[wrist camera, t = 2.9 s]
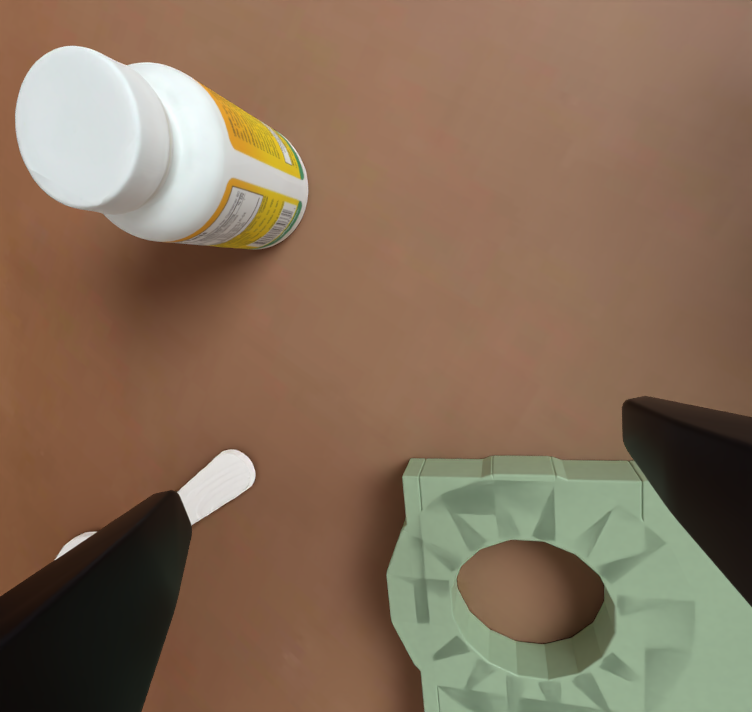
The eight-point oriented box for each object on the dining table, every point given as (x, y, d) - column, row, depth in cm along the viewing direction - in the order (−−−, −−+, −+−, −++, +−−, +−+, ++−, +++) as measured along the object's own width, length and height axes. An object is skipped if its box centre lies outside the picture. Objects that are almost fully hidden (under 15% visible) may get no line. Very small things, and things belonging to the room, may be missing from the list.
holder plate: (826, 457, 17) (867, 480, 15) (804, 769, 20) (837, 823, 18) (385, 454, 22) (374, 472, 20) (411, 706, 24) (403, 744, 22)
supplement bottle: (306, 255, 21) (159, 248, 12) (204, 243, 22) (0, 227, 13) (316, 129, 20) (162, 14, 11) (208, 123, 21) (-14, 14, 12)
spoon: (280, 500, 24) (276, 505, 23) (89, 633, 29) (81, 639, 29) (218, 418, 24) (212, 421, 23) (39, 567, 29) (31, 572, 29)
